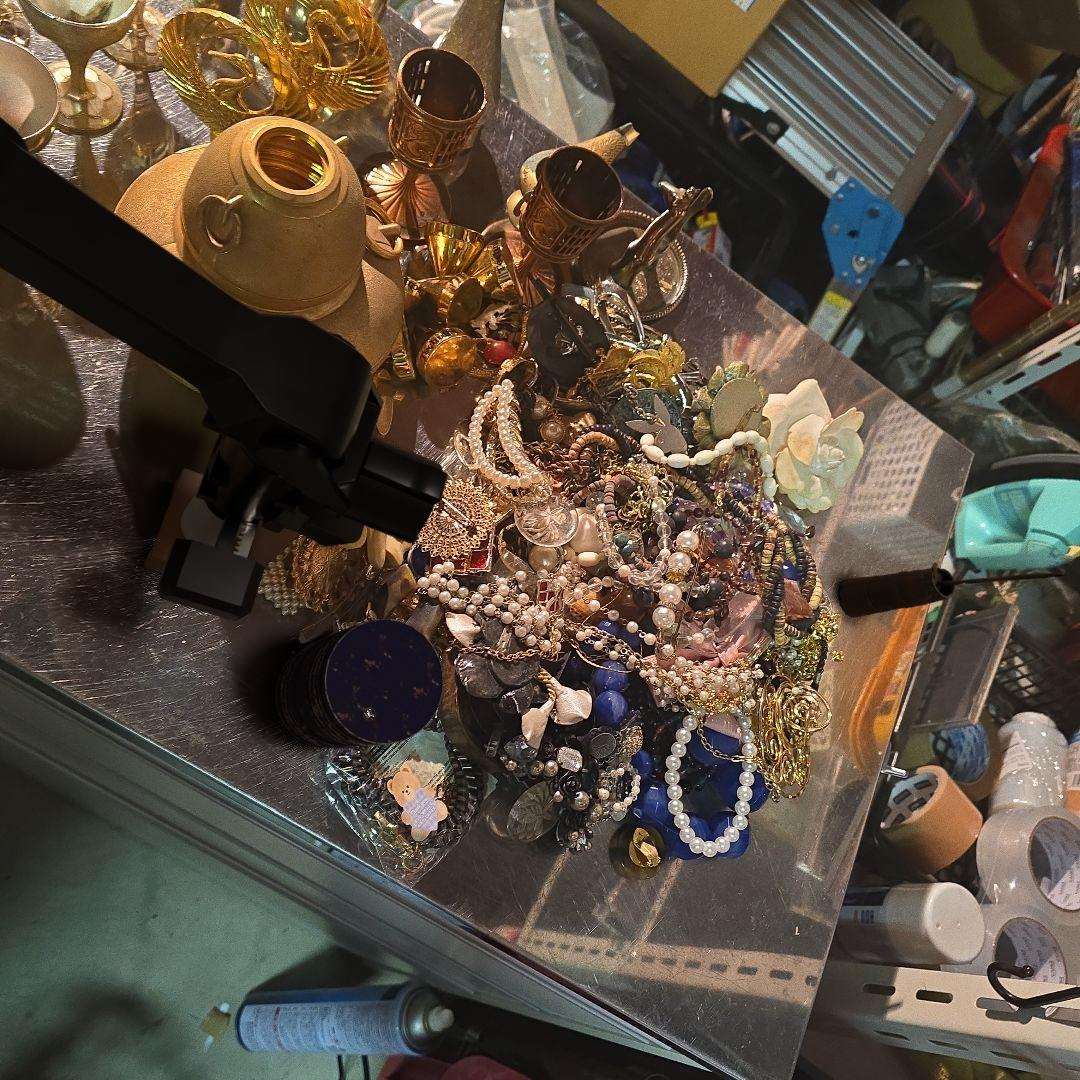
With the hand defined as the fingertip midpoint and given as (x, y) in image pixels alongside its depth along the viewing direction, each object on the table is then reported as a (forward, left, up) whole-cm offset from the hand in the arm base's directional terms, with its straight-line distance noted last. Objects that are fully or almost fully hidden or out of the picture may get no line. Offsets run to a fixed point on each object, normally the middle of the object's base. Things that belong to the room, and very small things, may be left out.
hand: (220, 513), depth 71 cm
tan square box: (0, 0, -9) cm, 9 cm away
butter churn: (+79, +21, -10) cm, 82 cm away
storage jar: (+15, -10, -10) cm, 20 cm away
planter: (0, 0, -4) cm, 5 cm away
